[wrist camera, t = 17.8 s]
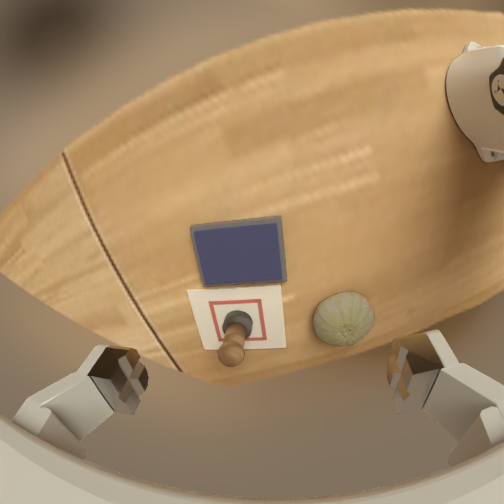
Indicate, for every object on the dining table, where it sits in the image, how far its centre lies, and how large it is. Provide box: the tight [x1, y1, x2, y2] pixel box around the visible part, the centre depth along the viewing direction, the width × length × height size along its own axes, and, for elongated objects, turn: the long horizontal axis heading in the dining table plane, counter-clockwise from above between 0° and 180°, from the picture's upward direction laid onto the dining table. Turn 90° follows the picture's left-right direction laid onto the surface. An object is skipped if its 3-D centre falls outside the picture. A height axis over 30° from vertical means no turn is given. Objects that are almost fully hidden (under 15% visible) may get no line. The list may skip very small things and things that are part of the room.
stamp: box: [218, 310, 253, 367], centre depth 39 cm, size 4×4×9 cm
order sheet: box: [187, 284, 286, 350], centre depth 43 cm, size 14×12×1 cm
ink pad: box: [190, 216, 287, 287], centre depth 38 cm, size 12×9×2 cm
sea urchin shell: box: [313, 291, 375, 346], centre depth 39 cm, size 9×8×8 cm
